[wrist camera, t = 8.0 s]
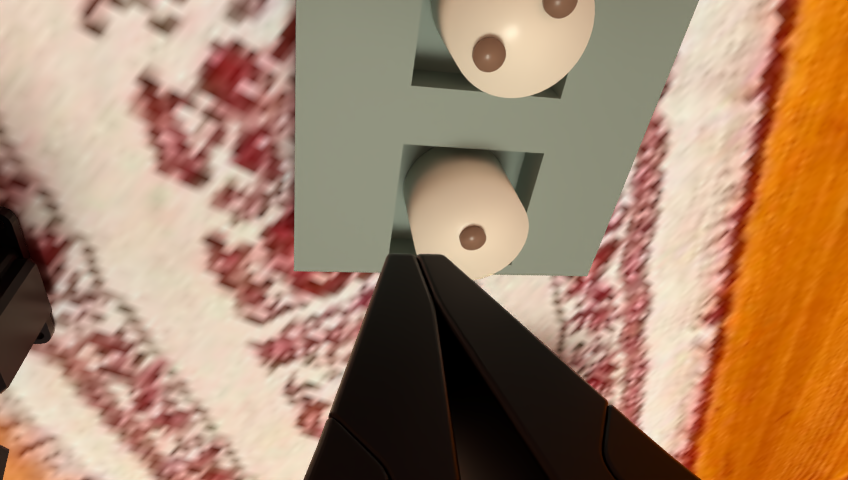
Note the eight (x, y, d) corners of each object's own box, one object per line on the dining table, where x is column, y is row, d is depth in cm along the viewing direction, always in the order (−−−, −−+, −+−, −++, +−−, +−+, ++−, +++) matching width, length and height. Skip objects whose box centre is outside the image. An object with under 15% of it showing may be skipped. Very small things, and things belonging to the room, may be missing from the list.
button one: (397, 229, 22) (408, 284, 19) (410, 138, 20) (424, 186, 17) (492, 232, 23) (515, 285, 20) (514, 145, 21) (544, 192, 18)
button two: (422, 56, 18) (440, 94, 15) (441, -84, 16) (466, -67, 13) (536, 67, 19) (572, 106, 16) (570, -64, 16) (619, -45, 14)
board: (296, 239, 22) (294, 271, 21) (304, -584, 11) (300, -657, 9) (570, 247, 25) (586, 275, 23) (814, -418, 13) (881, -453, 12)
